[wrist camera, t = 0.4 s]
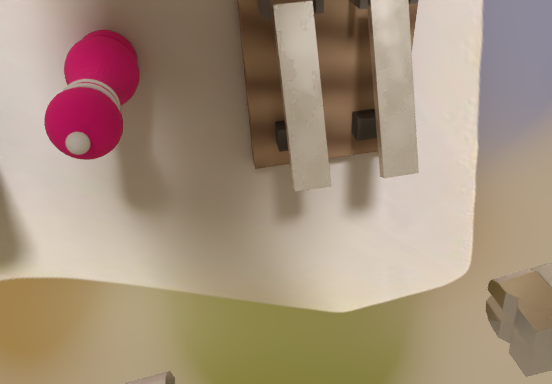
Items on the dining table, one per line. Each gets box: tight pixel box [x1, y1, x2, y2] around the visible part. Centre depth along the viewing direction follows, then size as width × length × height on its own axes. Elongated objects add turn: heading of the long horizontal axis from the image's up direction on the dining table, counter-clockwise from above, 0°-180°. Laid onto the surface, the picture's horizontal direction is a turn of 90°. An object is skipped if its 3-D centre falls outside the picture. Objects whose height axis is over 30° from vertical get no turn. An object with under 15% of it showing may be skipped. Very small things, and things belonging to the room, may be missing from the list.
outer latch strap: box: [367, 0, 419, 178], centre depth 48 cm, size 19×4×1 cm, turn 4°
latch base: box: [238, 0, 418, 169], centre depth 53 cm, size 22×20×6 cm
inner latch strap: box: [272, 1, 331, 191], centre depth 47 cm, size 19×4×1 cm, turn 4°
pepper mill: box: [45, 30, 139, 160], centre depth 42 cm, size 7×7×20 cm
